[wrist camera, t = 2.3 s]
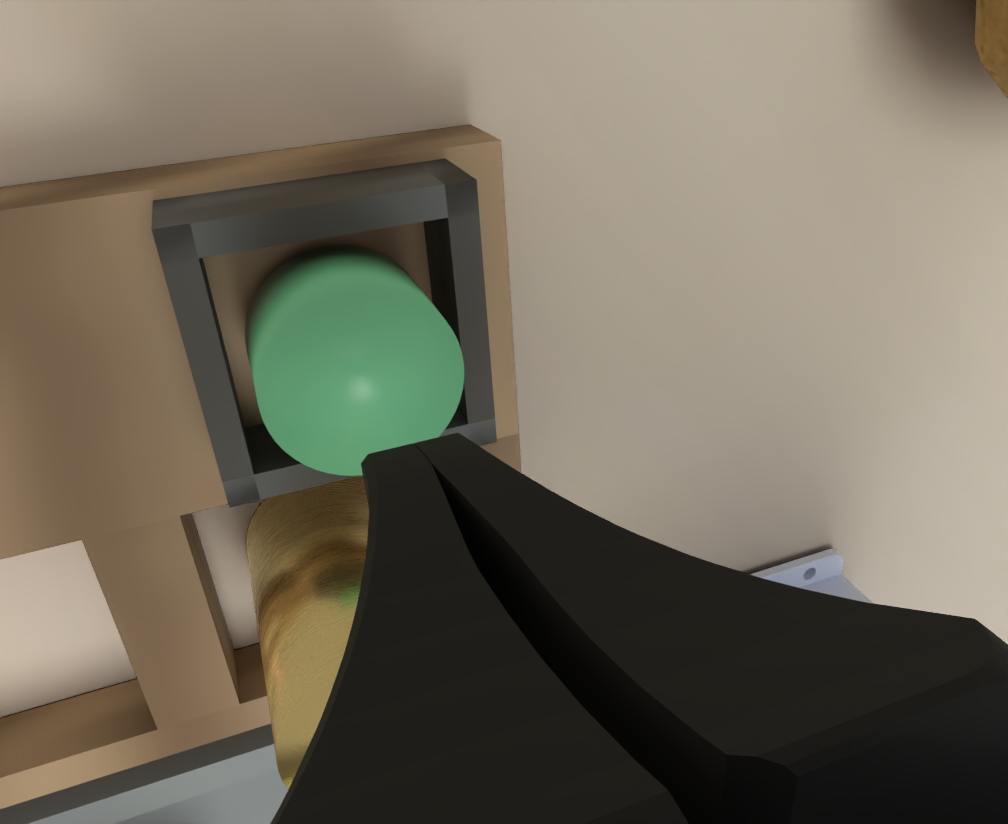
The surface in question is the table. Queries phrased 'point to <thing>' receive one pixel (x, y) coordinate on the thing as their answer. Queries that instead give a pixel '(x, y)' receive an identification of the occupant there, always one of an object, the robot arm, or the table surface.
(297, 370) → the button
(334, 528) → the seated billet
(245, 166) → the pallet board
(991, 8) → the potato
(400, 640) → the robot arm
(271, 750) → the tote
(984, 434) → the table surface
